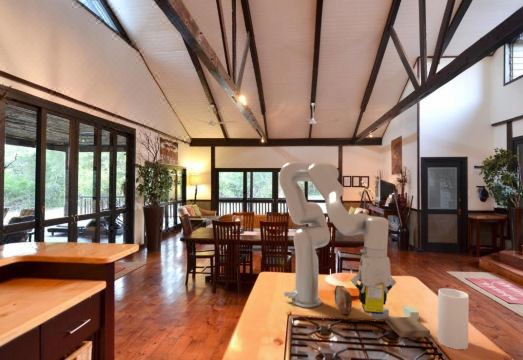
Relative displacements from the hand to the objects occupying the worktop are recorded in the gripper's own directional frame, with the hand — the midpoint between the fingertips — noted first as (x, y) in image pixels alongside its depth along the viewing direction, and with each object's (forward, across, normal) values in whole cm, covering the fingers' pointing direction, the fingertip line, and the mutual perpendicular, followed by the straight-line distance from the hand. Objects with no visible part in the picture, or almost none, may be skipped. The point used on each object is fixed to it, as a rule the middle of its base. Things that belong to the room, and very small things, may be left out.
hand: (372, 302), depth 107 cm
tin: (+10, -5, +15) cm, 18 cm away
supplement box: (+3, 0, 0) cm, 3 cm away
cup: (+8, +22, -11) cm, 26 cm away
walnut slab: (+8, +12, -2) cm, 15 cm away
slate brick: (+9, +7, +8) cm, 14 cm away
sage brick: (+9, +19, +8) cm, 22 cm away
